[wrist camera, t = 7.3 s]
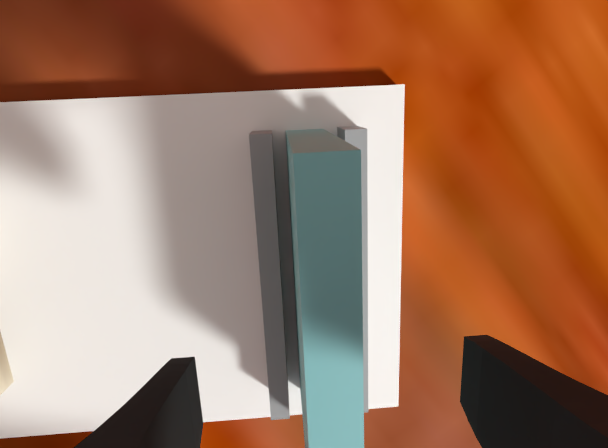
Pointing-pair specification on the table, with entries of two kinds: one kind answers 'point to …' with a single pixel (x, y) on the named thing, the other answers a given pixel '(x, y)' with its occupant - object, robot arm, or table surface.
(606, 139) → the table surface
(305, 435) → the teal rectangular block
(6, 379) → the offcut stack
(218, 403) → the rack
